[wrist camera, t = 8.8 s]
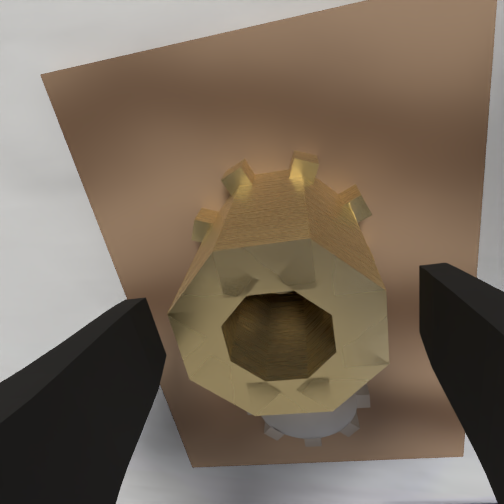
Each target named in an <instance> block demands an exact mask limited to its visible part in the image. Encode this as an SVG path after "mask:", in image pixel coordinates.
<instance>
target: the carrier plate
mask: <svg viewBox="0 0 504 504" xmlns="http://www.w3.org/2000/svg"><path fill="white" fill-rule="evenodd" d="M496 7H497V0H366V1H362V2H357V3H353V4H349V5H344V6H340V7H335V8H331V9H327V10H322V11H318V12H313V13H309V14H305V15H300V16H296V17H291V18H287V19H283V20H278V21H274V22H269V23H265V24H261V25H256V26H252V27H247V28H243V29H239V30H234V31H230V32H225V33H221V34H217V35H212V36H208V37H204V38H199V39H195V40H190V41H186V42H182V43H177V44H173V45H168V46H164V47H160V48H155V49H151V50H146V51H142V52H138V53H133V54H129V55H124V56H120V57H116V58H111V59H107V60H102V61H98V62H94V63H89V64H85V65H80V66H76V67H72V68H67V69H63V70H58V71H54V72H50V73H45V74H41V78H42V80H43V83H44V86H45V88H46V91H47V93H48V96H49V98H50V101H51V104H52V106H53V109H54V111H55V114H56V116H57V119H58V122H59V124H60V127H61V129H62V132H63V135H64V137H65V140H66V142H67V145H68V147H69V150H70V153H71V155H72V158H73V160H74V163H75V166H76V168H77V171H78V173H79V176H80V178H81V181H82V184H83V186H84V189H85V191H86V194H87V197H88V199H89V202H90V204H91V207H92V209H93V212H94V215H95V217H96V220H97V222H98V225H99V227H100V230H101V233H102V235H103V238H104V240H105V243H106V246H107V248H108V251H109V253H110V256H111V258H112V261H113V264H114V266H115V269H116V271H117V274H118V277H119V279H120V282H121V284H122V287H123V289H124V292H125V295H126V297H127V300H128V299H137V298H145V297H146V299H147V302H148V305H149V308H150V310H151V313H152V316H153V319H154V321H155V324H156V327H157V330H158V333H159V335H160V338H161V341H162V344H163V346H164V349H165V352H166V355H167V356H166V360H165V365H164V369H163V374H162V378H161V381H160V385H161V388H162V390H163V393H164V395H165V398H166V400H167V403H168V406H169V408H170V411H171V413H172V416H173V419H174V421H175V424H176V426H177V429H178V431H179V434H180V437H181V439H182V442H183V444H184V447H185V449H186V452H187V455H188V457H189V460H190V462H191V465H192V467H216V466H241V465H266V464H291V463H316V462H341V461H366V460H391V459H416V458H440V457H463V453H464V439H465V431H464V429H463V427H462V425H461V423H460V421H459V419H458V417H457V415H456V414H455V412H454V410H453V408H452V406H451V404H450V402H449V400H448V398H447V396H446V394H445V392H444V390H443V388H442V387H441V385H440V383H439V381H438V379H437V377H436V375H435V373H434V371H433V369H432V366H431V364H430V361H429V358H428V356H427V353H426V350H425V347H424V344H423V342H422V339H421V336H420V333H419V266H420V265H429V264H437V263H448V264H450V265H453V266H455V267H457V268H459V269H461V270H463V271H464V272H466V273H468V274H470V275H472V276H474V277H477V263H478V250H479V236H480V223H481V209H482V196H483V182H484V169H485V155H486V142H487V128H488V115H489V101H490V88H491V74H492V61H493V47H494V34H495V20H496ZM294 150H295V151H299V152H303V153H308V154H312V155H316V156H317V158H318V161H319V167H318V170H317V174H316V178H317V179H319V180H320V181H321V182H323V183H324V184H326V185H327V186H328V187H330V188H331V189H332V190H334V191H335V192H337V193H338V194H339V193H341V192H343V191H345V190H346V189H348V188H350V187H352V186H353V185H355V184H356V186H357V188H358V190H359V191H360V193H361V195H362V197H363V199H364V200H365V202H366V204H367V206H368V208H369V210H370V211H371V213H372V215H371V216H370V217H368V218H366V219H364V220H362V221H360V222H358V225H359V227H360V230H361V232H362V234H363V237H364V239H365V241H366V244H367V246H369V248H370V251H371V253H372V255H373V258H374V260H375V265H376V267H377V269H378V272H379V274H380V276H381V279H382V281H383V283H384V286H385V288H386V290H387V291H386V297H387V320H388V344H389V363H390V364H389V365H388V366H386V367H385V368H384V369H383V370H382V371H380V372H379V373H378V374H377V375H376V376H374V377H373V378H372V379H371V380H370V381H369V382H367V383H366V384H365V385H364V386H363V387H361V388H360V389H359V390H358V391H357V392H355V393H354V394H353V395H352V396H351V397H349V398H348V399H347V400H346V401H345V402H344V403H342V404H341V405H340V406H339V407H338V408H336V409H335V410H334V411H333V412H332V411H331V412H315V413H298V414H281V415H265V416H254V415H252V414H250V413H249V412H247V411H245V410H243V409H241V408H240V407H238V406H236V405H234V404H233V403H231V402H229V401H227V400H225V399H224V398H222V397H220V396H218V395H216V394H215V393H213V392H211V391H209V390H207V389H206V388H204V387H202V386H200V385H198V384H197V383H195V382H193V381H191V380H189V376H188V374H187V371H186V368H185V365H184V362H183V359H182V356H181V353H180V350H179V347H178V344H177V341H176V338H175V335H174V332H173V329H172V326H171V324H170V321H169V318H168V315H167V313H168V311H169V309H170V307H171V305H172V303H173V301H174V299H175V297H176V295H177V293H178V290H179V288H180V286H181V284H182V282H183V280H184V278H185V276H186V274H187V272H188V270H189V268H190V266H191V264H192V262H193V260H194V258H195V256H196V253H197V251H198V249H199V247H200V245H201V242H197V241H193V240H191V239H192V232H193V225H194V219H195V218H196V216H197V214H198V213H199V211H200V209H201V208H205V209H209V210H213V211H218V212H219V211H220V209H221V208H222V206H223V205H224V204H225V202H226V201H227V199H228V198H229V196H230V193H229V192H228V190H227V189H226V187H225V186H224V184H223V183H222V181H221V179H222V177H223V175H224V173H225V172H226V170H228V169H230V168H231V167H233V166H234V165H236V164H237V163H239V162H240V161H242V160H244V159H245V160H246V161H247V163H248V164H249V166H250V168H251V169H252V171H253V172H254V174H255V175H256V174H262V173H268V172H274V171H280V170H287V169H289V168H290V164H291V160H292V156H293V152H294ZM289 292H292V291H285V292H276V293H277V294H286V293H289Z"/></svg>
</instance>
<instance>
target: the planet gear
mask: <svg viewBox="0 0 504 504" xmlns="http://www.w3.org/2000/svg"><path fill="white" fill-rule="evenodd" d="M318 167H319V161H318V158H317V156H316V155H312V154H308V153H303V152H299V151H295V150H294V152H293V156H292V160H291V164H290V168H289V169H287V170H280V171H274V172H268V173H262V174H256V175H255V174H254V172H253V171H252V169H251V168H250V166H249V164H248V163H247V161H246V160H245V159H244V160H242V161H240V162H239V163H237V164H236V165H234V166H233V167H231V168H230V169H228V170H226V172H225V173H224V175H223V177H222V179H221V181H222V183H223V184H224V186H225V187H226V189H227V190H228V192H229V193H230V196H229V198H228V199H227V201H226V202H225V204H224V205H223V206H222V208H221V209H220V211H219V212H218V211H213V210H209V209H205V208H201V209H200V211H199V213H198V214H197V216H196V218H195V219H194V225H193V232H192V239H191V240H193V241H197V242H201V245H200V247H199V249H198V251H197V253H196V256H195V258H194V260H193V262H192V264H191V266H190V268H189V270H188V272H187V274H186V276H185V278H184V280H183V282H182V284H181V286H180V288H179V290H178V293H177V295H176V297H175V299H174V301H173V303H172V305H171V307H170V309H169V311H168V313H167V315H168V318H169V321H170V324H171V326H172V329H173V332H174V335H175V338H176V341H177V344H178V347H179V350H180V353H181V356H182V359H183V362H184V365H185V368H186V371H187V374H188V376H189V380H191V381H193V382H195V383H197V384H198V385H200V386H202V387H204V388H206V389H207V390H209V391H211V392H213V393H215V394H216V395H218V396H220V397H222V398H224V399H225V400H227V401H229V402H231V403H233V404H234V405H236V406H238V407H240V408H241V409H243V410H245V411H247V412H249V413H250V414H252V415H254V416H265V415H281V414H298V413H315V412H331V411H332V412H333V411H334V410H335V409H336V408H338V407H339V406H340V405H341V404H342V403H344V402H345V401H346V400H347V399H348V398H349V397H351V396H352V395H353V394H354V393H355V392H357V391H358V390H359V389H360V388H361V387H363V386H364V385H365V384H366V383H367V382H369V381H370V380H371V379H372V378H373V377H374V376H376V375H377V374H378V373H379V372H380V371H382V370H383V369H384V368H385V367H386V366H388V365H389V364H390V363H389V344H388V320H387V297H386V291H387V290H386V288H385V286H384V283H383V281H382V279H381V276H380V274H379V272H378V269H377V267H376V265H375V260H374V258H373V255H372V253H371V251H370V248H369V246H367V244H366V241H365V239H364V237H363V234H362V232H361V230H360V227H359V225H358V222H360V221H362V220H364V219H366V218H368V217H370V216H371V215H372V213H371V211H370V210H369V208H368V206H367V204H366V202H365V200H364V199H363V197H362V195H361V193H360V191H359V190H358V188H357V186H356V184H355V185H353V186H352V187H350V188H348V189H346V190H345V191H343V192H341V193H339V194H338V193H337V192H335V191H334V190H332V189H331V188H330V187H328V186H327V185H326V184H324V183H323V182H321V181H320V180H319V179H317V178H316V174H317V170H318ZM285 291H292V292H289V293H286V294H277V293H276V292H285Z"/></svg>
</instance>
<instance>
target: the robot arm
mask: <svg viewBox="0 0 504 504" xmlns="http://www.w3.org/2000/svg"><path fill="white" fill-rule="evenodd" d="M419 333H420V336H421V339H422V342H423V344H424V347H425V350H426V353H427V356H428V358H429V361H430V364H431V366H432V369H433V371H434V373H435V375H436V377H437V379H438V381H439V383H440V385H441V387H442V388H443V390H444V392H445V394H446V396H447V398H448V400H449V402H450V404H451V406H452V408H453V410H454V412H455V414H456V415H457V417H458V419H459V421H460V423H461V425H462V427H463V429H464V431H465V433H466V435H467V437H468V438H469V440H470V442H471V444H472V446H473V448H474V450H475V452H476V454H477V456H478V458H479V460H480V462H481V465H482V467H483V469H484V471H485V473H486V475H487V478H488V480H489V483H490V485H491V488H492V490H493V493H494V495H495V497H496V500H497V502H498V504H504V292H503V291H501V290H499V289H497V288H495V287H493V286H491V285H489V284H487V283H485V282H484V281H482V280H480V279H478V278H476V277H474V276H472V275H470V274H468V273H466V272H464V271H463V270H461V269H459V268H457V267H455V266H453V265H450V264H448V263H437V264H429V265H420V266H419ZM166 356H167V355H166V352H165V349H164V346H163V344H162V341H161V338H160V335H159V333H158V330H157V327H156V324H155V321H154V319H153V316H152V313H151V310H150V308H149V305H148V302H147V299H146V297H145V298H137V299H128V300H124V301H122V302H121V303H119V304H117V305H115V306H114V307H112V308H111V309H109V310H108V311H106V312H105V313H103V314H102V315H100V316H99V317H98V318H96V319H95V320H93V321H92V322H90V323H89V324H88V325H86V326H85V327H83V328H82V329H81V330H79V331H78V332H76V333H75V334H73V335H72V336H71V337H69V338H68V339H66V340H65V341H64V342H62V343H61V344H59V345H58V346H56V347H55V348H53V349H52V350H50V351H49V352H47V353H46V354H44V355H43V356H41V357H40V358H38V359H37V360H35V361H34V362H32V363H31V364H29V365H28V366H26V367H25V368H23V369H22V370H20V371H19V372H17V373H15V374H14V375H12V376H10V377H9V378H7V379H6V380H4V381H2V382H1V383H0V504H116V501H117V497H118V494H119V490H120V487H121V484H122V481H123V478H124V476H125V473H126V470H127V467H128V465H129V462H130V460H131V457H132V455H133V452H134V450H135V447H136V445H137V442H138V440H139V437H140V435H141V432H142V430H143V427H144V425H145V422H146V420H147V417H148V415H149V412H150V410H151V407H152V405H153V402H154V399H155V397H156V394H157V391H158V389H159V385H160V381H161V378H162V374H163V369H164V365H165V360H166Z"/></svg>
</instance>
